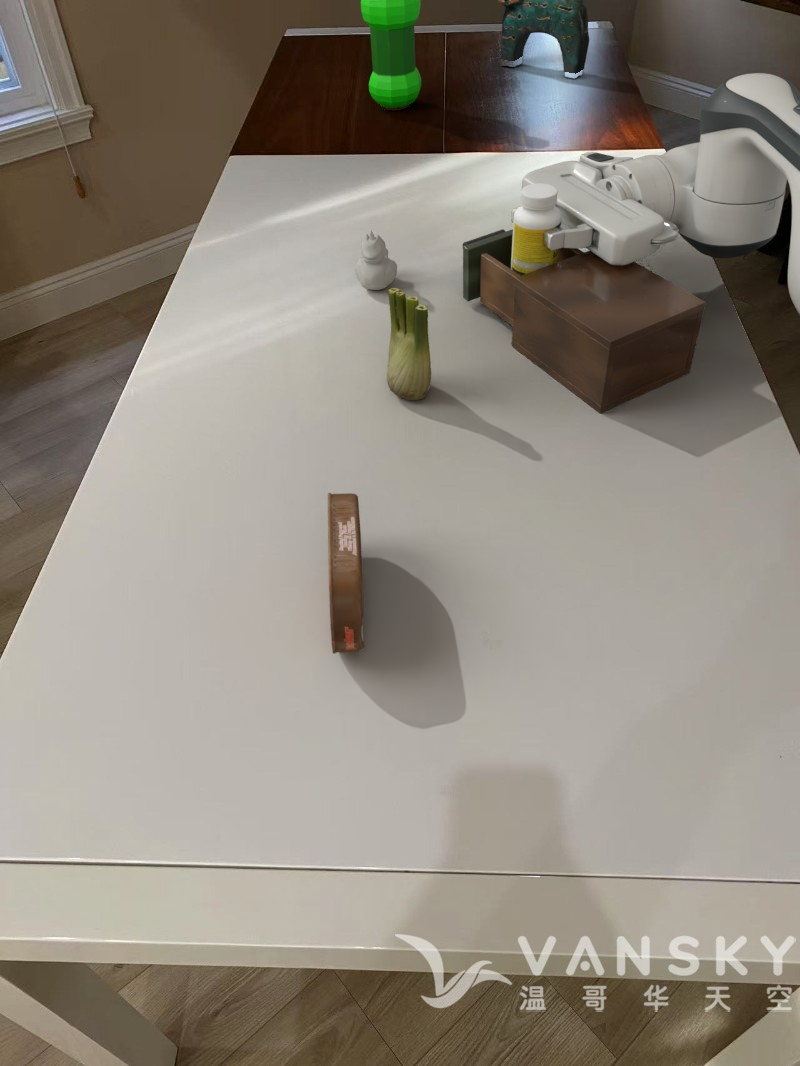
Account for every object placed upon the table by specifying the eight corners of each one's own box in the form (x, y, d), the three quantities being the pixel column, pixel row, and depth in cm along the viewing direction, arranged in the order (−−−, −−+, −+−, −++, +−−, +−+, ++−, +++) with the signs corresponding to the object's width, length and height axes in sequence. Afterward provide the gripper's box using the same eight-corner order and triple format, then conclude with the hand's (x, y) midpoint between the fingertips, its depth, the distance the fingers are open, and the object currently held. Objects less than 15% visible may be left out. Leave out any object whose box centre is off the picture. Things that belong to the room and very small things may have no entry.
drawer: (444, 283, 106) (443, 232, 102) (517, 257, 110) (519, 207, 105) (533, 350, 95) (537, 296, 90) (611, 319, 99) (619, 265, 94)
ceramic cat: (490, 66, 169) (492, -51, 155) (508, 57, 172) (512, -59, 158) (574, 82, 159) (585, -41, 145) (591, 73, 163) (604, -49, 148)
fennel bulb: (437, 403, 90) (434, 305, 82) (393, 411, 90) (386, 313, 81) (425, 374, 94) (422, 277, 86) (383, 381, 94) (375, 284, 85)
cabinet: (511, 346, 97) (514, 277, 91) (596, 312, 102) (604, 244, 95) (600, 413, 88) (610, 342, 81) (689, 373, 92) (706, 302, 85)
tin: (331, 540, 77) (320, 472, 70) (365, 537, 77) (356, 469, 71) (333, 675, 66) (320, 608, 60) (372, 672, 66) (363, 605, 60)
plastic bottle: (426, 96, 159) (421, -62, 141) (419, 116, 151) (413, -47, 134) (374, 96, 160) (364, -60, 142) (365, 116, 153) (352, -46, 135)
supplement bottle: (559, 283, 96) (566, 199, 89) (512, 284, 96) (516, 202, 89) (554, 260, 100) (560, 179, 93) (509, 262, 100) (512, 181, 93)
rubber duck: (350, 294, 108) (344, 236, 102) (366, 270, 112) (360, 212, 106) (390, 298, 106) (386, 239, 101) (404, 274, 111) (401, 216, 105)
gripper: (682, 261, 93) (580, 294, 89) (577, 197, 107) (484, 223, 103) (693, 206, 89) (586, 238, 85) (582, 146, 102) (485, 171, 98)
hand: (529, 229), depth 94 cm, fingers closed on supplement bottle, 5 cm apart
